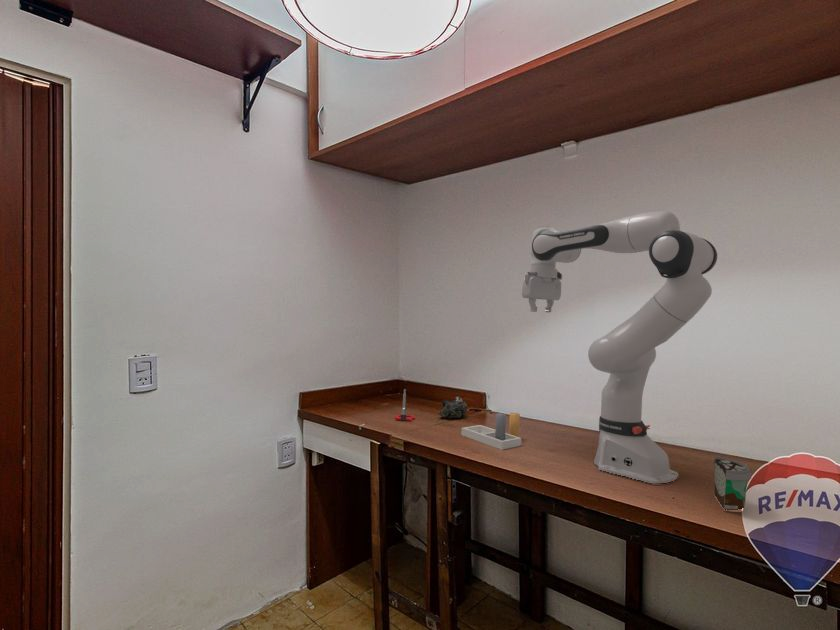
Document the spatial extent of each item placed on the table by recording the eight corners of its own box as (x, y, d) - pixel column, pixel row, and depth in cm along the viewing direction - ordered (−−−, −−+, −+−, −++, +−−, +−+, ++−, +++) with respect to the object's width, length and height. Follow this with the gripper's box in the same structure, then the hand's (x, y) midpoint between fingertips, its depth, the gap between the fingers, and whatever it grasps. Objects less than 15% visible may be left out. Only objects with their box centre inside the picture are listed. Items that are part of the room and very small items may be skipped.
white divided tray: (521, 448, 149) (521, 438, 149) (501, 452, 144) (502, 441, 144) (480, 434, 165) (480, 424, 165) (461, 437, 160) (461, 427, 160)
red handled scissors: (396, 416, 192) (393, 420, 183) (397, 386, 192) (394, 388, 183) (416, 418, 191) (413, 422, 182) (417, 387, 192) (414, 390, 182)
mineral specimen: (433, 400, 201) (446, 384, 198) (457, 414, 203) (470, 397, 200) (434, 419, 187) (447, 401, 184) (459, 433, 189) (473, 416, 186)
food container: (758, 519, 100) (759, 474, 100) (725, 514, 102) (726, 470, 102) (741, 499, 112) (742, 458, 112) (712, 494, 114) (713, 455, 114)
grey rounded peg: (509, 444, 150) (510, 415, 150) (500, 446, 148) (501, 416, 148) (500, 441, 153) (500, 412, 153) (491, 442, 151) (492, 413, 151)
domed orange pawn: (522, 442, 156) (523, 414, 156) (514, 444, 154) (514, 415, 154) (513, 439, 160) (514, 412, 160) (505, 441, 157) (506, 413, 157)
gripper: (533, 270, 151) (532, 311, 151) (564, 275, 165) (563, 312, 165) (518, 271, 156) (516, 311, 156) (549, 276, 170) (548, 312, 170)
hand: (541, 312), depth 161 cm, fingers open, 8 cm apart
